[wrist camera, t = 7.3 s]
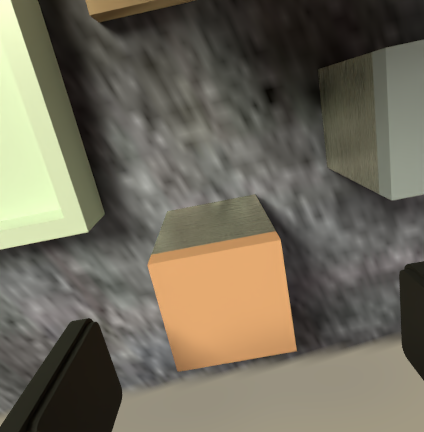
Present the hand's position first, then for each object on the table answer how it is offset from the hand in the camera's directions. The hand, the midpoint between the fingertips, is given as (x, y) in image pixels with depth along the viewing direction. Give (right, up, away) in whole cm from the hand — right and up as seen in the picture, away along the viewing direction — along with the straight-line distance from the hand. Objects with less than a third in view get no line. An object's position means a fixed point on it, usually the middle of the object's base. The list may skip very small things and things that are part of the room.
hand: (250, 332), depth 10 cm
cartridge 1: (-1, +2, +7) cm, 7 cm away
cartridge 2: (+6, +8, +5) cm, 12 cm away
